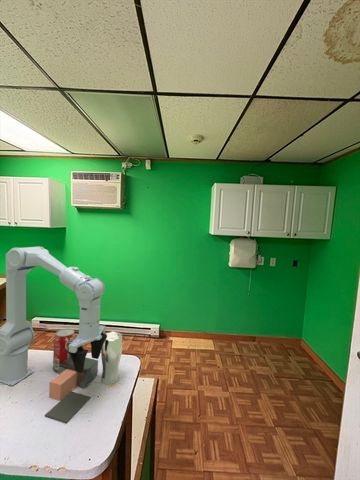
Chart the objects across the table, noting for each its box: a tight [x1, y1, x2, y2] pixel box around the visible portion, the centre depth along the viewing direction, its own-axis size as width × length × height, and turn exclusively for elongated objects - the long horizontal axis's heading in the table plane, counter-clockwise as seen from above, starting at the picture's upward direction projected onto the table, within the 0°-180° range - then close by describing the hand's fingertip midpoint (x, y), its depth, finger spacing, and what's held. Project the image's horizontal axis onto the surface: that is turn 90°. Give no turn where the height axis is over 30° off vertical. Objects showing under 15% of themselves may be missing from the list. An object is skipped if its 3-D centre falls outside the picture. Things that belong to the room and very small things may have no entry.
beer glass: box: [100, 331, 123, 385], centre depth 81 cm, size 7×7×15 cm
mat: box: [44, 390, 92, 424], centre depth 68 cm, size 7×10×1 cm
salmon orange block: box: [48, 368, 79, 402], centre depth 75 cm, size 4×10×5 cm, turn 165°
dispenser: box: [58, 357, 99, 389], centre depth 80 cm, size 10×7×6 cm
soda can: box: [52, 328, 77, 373], centre depth 86 cm, size 7×7×13 cm
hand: (87, 364), depth 71 cm, fingers open, 7 cm apart
